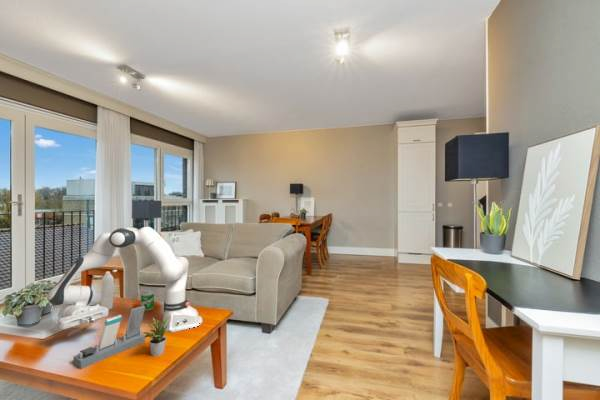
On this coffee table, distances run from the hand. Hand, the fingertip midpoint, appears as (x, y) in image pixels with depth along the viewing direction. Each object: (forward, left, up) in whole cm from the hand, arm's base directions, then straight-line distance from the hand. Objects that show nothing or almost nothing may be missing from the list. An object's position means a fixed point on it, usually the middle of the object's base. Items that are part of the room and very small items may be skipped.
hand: (91, 321), depth 133 cm
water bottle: (+8, -51, -12) cm, 53 cm away
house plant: (-33, +17, -12) cm, 39 cm away
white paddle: (-10, +12, -8) cm, 18 cm away
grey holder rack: (-12, +10, -12) cm, 20 cm away
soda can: (-17, -41, -12) cm, 46 cm away
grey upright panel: (-19, +5, -8) cm, 21 cm away
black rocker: (-5, +17, -7) cm, 19 cm away
